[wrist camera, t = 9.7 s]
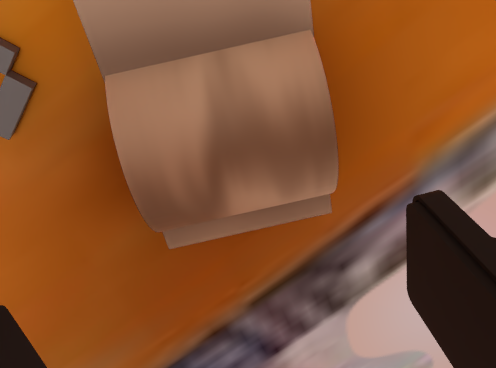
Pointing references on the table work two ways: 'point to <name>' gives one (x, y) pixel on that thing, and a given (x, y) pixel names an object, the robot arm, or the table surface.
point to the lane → (216, 112)
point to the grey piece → (12, 91)
